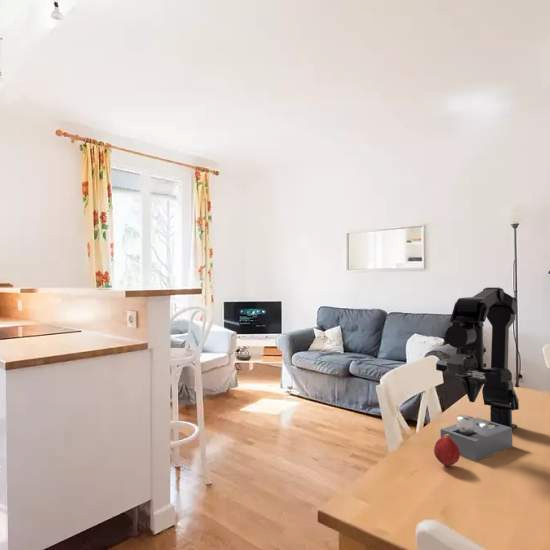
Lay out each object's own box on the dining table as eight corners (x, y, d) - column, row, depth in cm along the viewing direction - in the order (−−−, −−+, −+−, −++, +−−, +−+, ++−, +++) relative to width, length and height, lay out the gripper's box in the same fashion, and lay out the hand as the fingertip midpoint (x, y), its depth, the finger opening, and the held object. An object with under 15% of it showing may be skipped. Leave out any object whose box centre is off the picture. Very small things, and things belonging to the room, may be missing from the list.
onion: (433, 469, 97) (432, 436, 97) (435, 459, 102) (435, 428, 102) (459, 474, 94) (458, 440, 95) (460, 464, 100) (460, 431, 100)
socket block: (477, 434, 118) (477, 417, 118) (512, 446, 110) (511, 427, 110) (440, 447, 110) (440, 429, 110) (475, 461, 101) (475, 441, 101)
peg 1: (462, 431, 110) (462, 413, 110) (476, 435, 106) (476, 417, 107) (453, 434, 108) (453, 416, 108) (467, 438, 104) (467, 420, 104)
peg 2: (484, 437, 115) (484, 420, 115) (498, 441, 112) (497, 424, 112) (476, 440, 113) (475, 423, 113) (490, 444, 110) (489, 427, 110)
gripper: (423, 342, 113) (423, 398, 112) (487, 351, 97) (488, 416, 97) (447, 339, 119) (448, 392, 118) (512, 347, 103) (513, 409, 102)
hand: (472, 401), depth 109 cm, fingers closed
